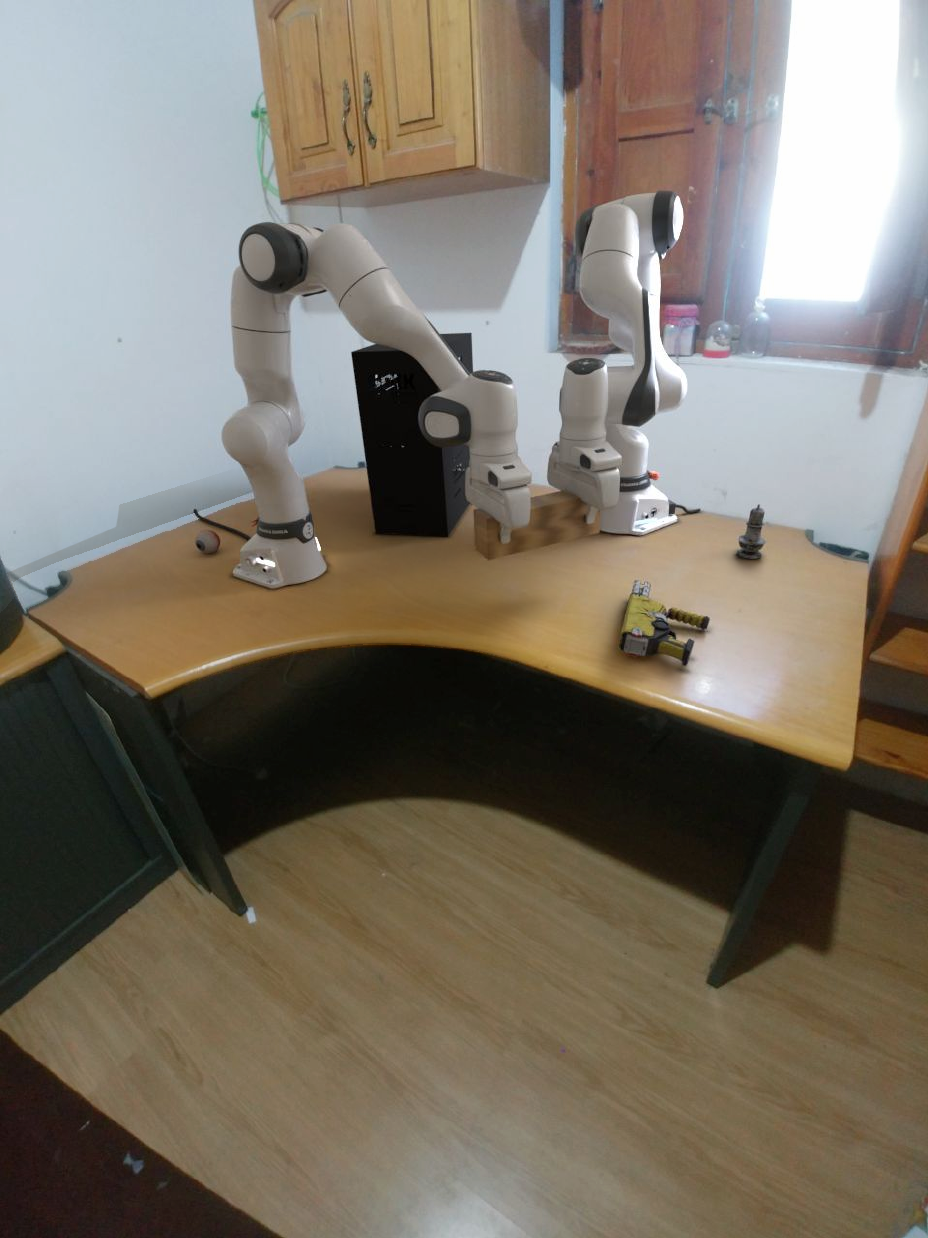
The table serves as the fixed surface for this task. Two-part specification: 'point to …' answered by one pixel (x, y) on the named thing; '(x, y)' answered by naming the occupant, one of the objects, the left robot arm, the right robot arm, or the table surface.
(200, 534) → the eyeball
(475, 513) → the bar
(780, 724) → the table surface
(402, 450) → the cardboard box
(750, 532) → the salt shaker
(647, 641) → the toy gun
